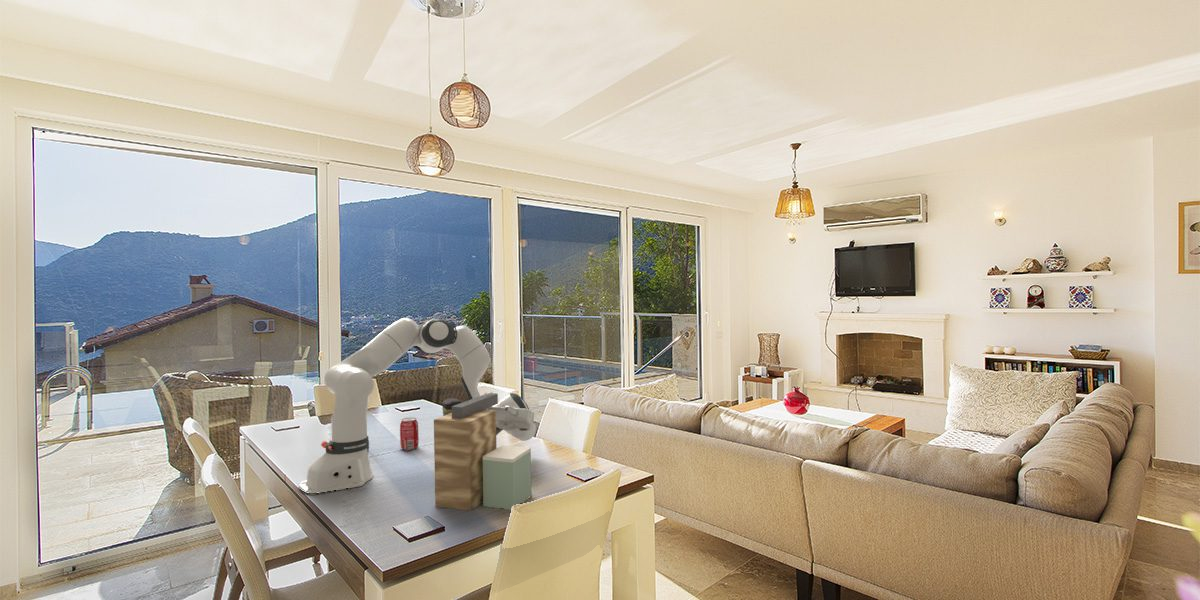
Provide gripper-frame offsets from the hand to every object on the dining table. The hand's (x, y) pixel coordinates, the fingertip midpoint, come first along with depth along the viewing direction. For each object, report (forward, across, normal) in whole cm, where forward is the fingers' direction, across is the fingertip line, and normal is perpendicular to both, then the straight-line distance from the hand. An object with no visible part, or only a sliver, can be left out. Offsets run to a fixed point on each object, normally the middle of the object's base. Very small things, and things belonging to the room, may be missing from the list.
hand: (494, 407), depth 189 cm
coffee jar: (-42, -39, +4) cm, 58 cm away
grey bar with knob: (+11, 0, +5) cm, 12 cm away
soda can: (-32, -52, +10) cm, 61 cm away
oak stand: (+3, 0, +30) cm, 30 cm away
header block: (+2, +13, +29) cm, 32 cm away
